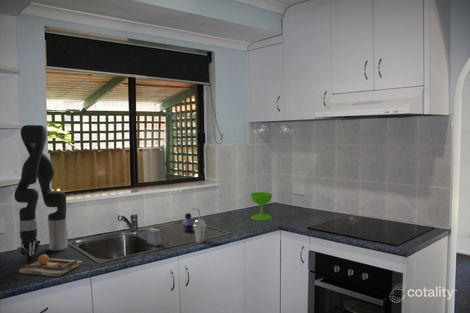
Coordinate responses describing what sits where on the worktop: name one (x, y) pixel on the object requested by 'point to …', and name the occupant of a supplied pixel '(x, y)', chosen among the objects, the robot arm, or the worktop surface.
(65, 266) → the beige tray
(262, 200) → the wineglass
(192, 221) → the potion bottle
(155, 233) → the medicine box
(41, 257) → the ball
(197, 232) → the cup with straw
